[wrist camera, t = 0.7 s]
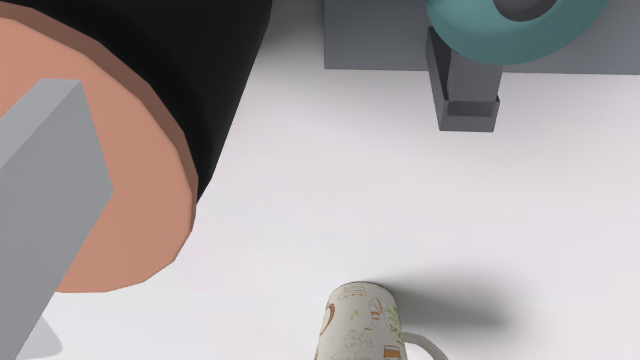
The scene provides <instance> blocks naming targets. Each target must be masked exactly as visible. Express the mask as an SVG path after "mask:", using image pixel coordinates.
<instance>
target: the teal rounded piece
mask: <svg viewBox="0 0 640 360" xmlns="http://www.w3.org/2000/svg"><path fill="white" fill-rule="evenodd" d="M424 1H425V5H426V9H427V13H428V16H429V19H430V21H431V23H432V25H433V27H434V29H435V30H436V32H437V34H438V35H439V36H440V37H441V39H442V40H443V41H444V42H445V43H446V44H447V45H448V46H449V47H450V48H452V49H453V50H455V51H456V52H457V53H459V54H461V55H463V56H465V57H467V58H469V59H471V60H474V61H477V62H481V63H486V64H491V65H514V64H521V63H526V62H530V61H534V60H537V59H540V58H542V57H545V56H548V55H550V54H552V53H554V52H556V51H558V50H560V49H561V48H563V47H564V46H566V45H567V44H569V43H571V42H572V41H573V40H574V39H576V38H577V37H578V36H580V35H581V34H582V33H583V32H584V31H585V30H586V29H587V28H588V27H589V26H590V25H591V24H592V23H593V22H594V21H595V19H596V18H597V17H598V16H599V15H600V13H601V12H602V10H603V9H604V7H605V6H606V5H607V3H608V1H609V0H424ZM451 55H452V50H451Z"/></svg>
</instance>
